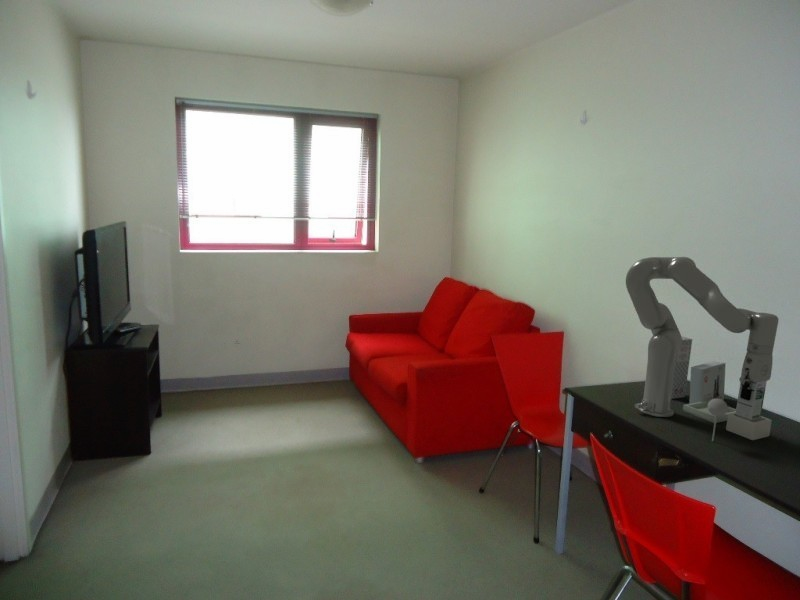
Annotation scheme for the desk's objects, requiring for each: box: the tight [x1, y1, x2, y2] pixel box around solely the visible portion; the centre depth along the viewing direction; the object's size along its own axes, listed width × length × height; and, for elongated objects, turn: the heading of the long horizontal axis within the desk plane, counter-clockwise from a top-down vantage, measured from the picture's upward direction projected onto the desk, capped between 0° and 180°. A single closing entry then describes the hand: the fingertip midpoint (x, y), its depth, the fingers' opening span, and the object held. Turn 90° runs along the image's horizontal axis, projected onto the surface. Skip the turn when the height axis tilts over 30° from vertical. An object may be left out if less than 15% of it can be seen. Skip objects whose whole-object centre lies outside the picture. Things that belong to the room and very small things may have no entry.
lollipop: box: [708, 398, 728, 442], centre depth 185 cm, size 6×6×15 cm
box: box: [671, 335, 693, 400], centre depth 231 cm, size 8×8×25 cm
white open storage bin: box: [725, 412, 773, 441], centre depth 195 cm, size 10×10×6 cm
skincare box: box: [688, 360, 726, 404], centre depth 226 cm, size 21×5×16 cm, turn 128°
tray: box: [682, 400, 736, 424], centre depth 212 cm, size 16×13×2 cm
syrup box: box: [735, 378, 768, 421], centre depth 193 cm, size 6×6×14 cm
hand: (750, 397), depth 193 cm, fingers closed on syrup box, 5 cm apart
